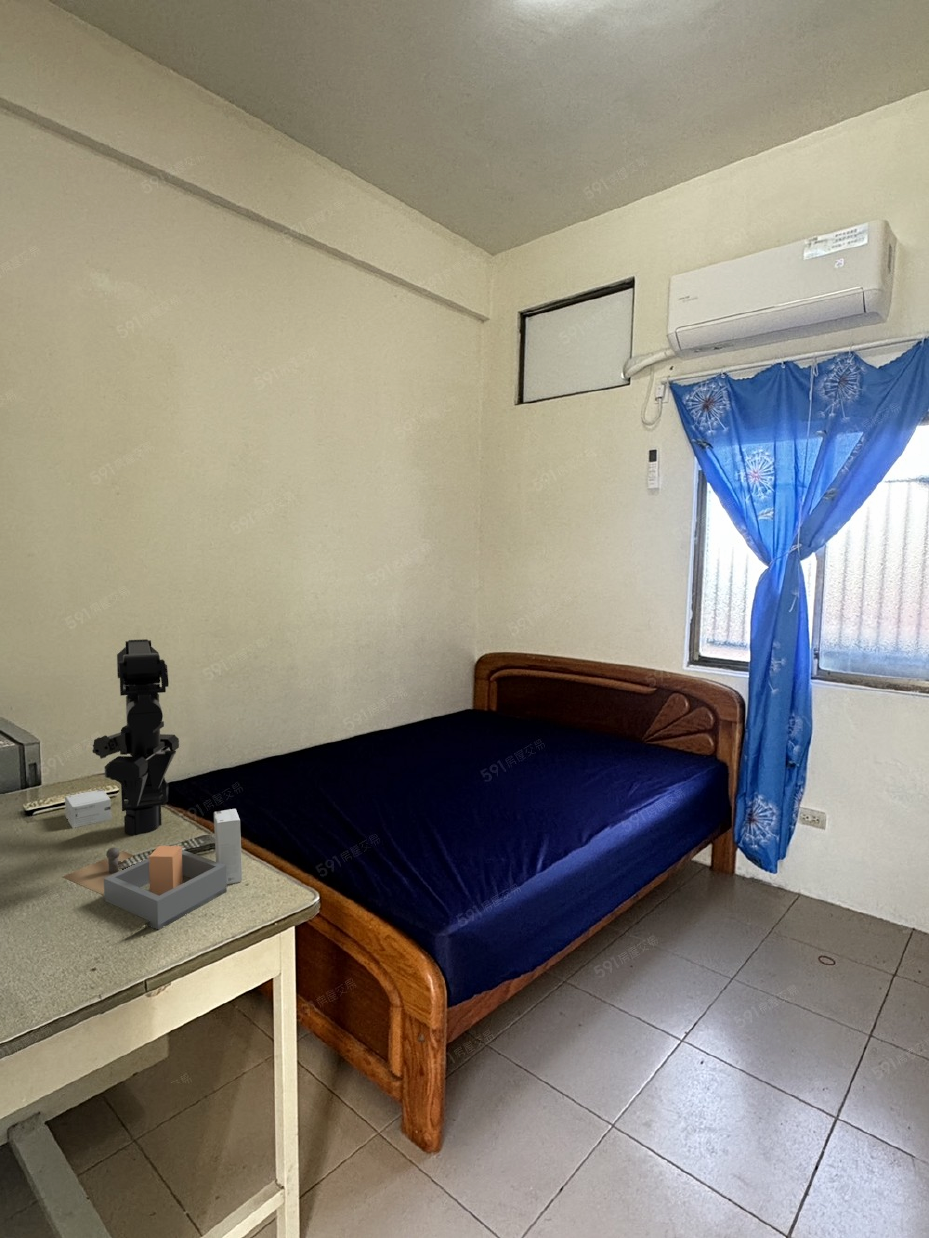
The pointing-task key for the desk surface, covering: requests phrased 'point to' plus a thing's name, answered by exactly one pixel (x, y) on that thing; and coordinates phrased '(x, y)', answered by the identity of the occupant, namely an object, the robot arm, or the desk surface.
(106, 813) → the small box
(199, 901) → the bin
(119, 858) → the stud base
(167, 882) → the tan wooden brick
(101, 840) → the desk surface
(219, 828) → the skincare box
